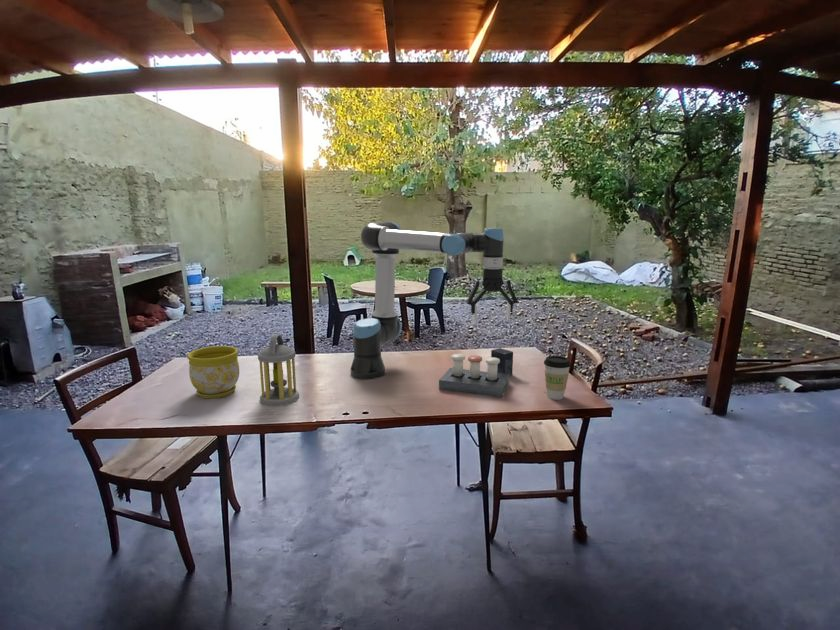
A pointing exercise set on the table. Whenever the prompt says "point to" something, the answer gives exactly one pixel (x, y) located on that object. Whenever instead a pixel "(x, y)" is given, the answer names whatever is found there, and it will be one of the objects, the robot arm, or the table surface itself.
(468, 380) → the mount
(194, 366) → the flowerpot
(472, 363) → the knob mid
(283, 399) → the lantern
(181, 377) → the table surface
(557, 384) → the coffee cup
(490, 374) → the knob
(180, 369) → the table surface
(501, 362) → the box
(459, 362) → the knob
